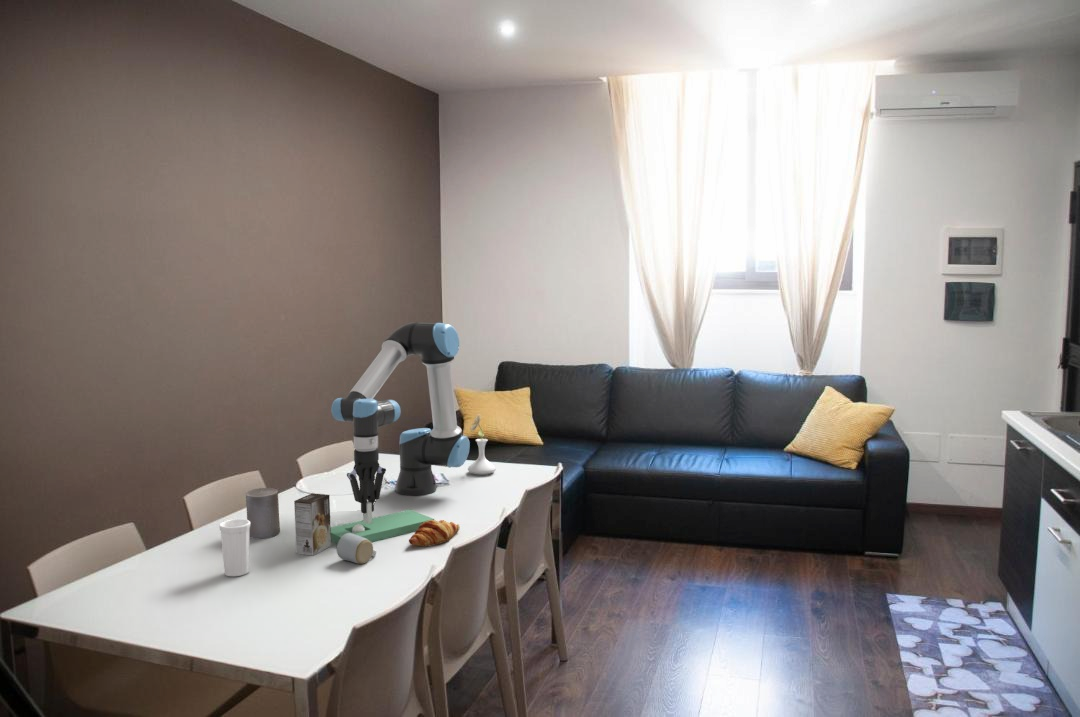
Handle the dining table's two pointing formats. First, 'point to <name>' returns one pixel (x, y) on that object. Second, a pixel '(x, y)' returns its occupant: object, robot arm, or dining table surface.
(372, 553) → the ceramic mug
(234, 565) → the cup
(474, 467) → the flower in vase
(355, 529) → the ball
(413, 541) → the croissant
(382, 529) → the green slotted board
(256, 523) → the pillar candle
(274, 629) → the dining table surface
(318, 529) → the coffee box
